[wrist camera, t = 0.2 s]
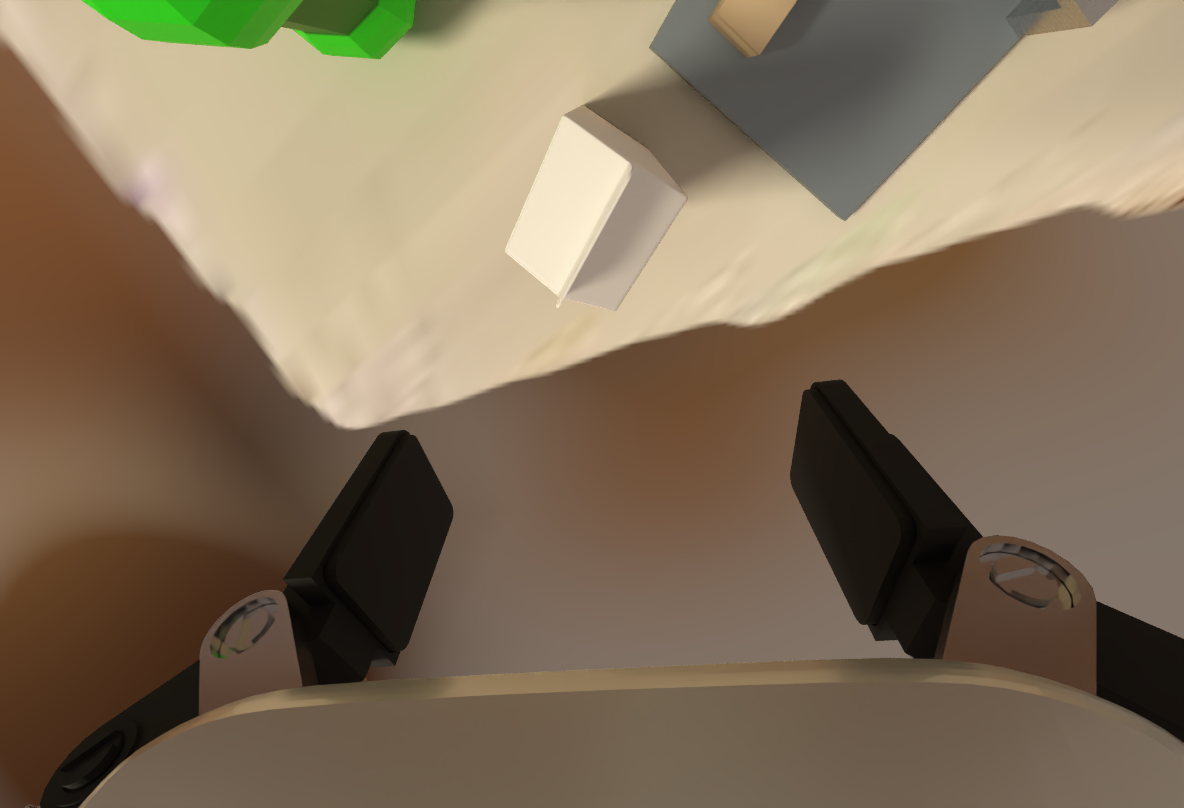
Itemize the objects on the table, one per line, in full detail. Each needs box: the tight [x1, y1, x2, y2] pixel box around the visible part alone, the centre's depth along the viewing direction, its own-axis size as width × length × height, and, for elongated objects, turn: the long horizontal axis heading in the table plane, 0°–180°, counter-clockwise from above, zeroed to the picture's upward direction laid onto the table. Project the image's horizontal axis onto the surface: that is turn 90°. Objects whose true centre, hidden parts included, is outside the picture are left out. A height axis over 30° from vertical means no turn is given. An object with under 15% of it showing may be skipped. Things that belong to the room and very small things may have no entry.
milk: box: [505, 105, 688, 311], centre depth 25 cm, size 6×6×22 cm
